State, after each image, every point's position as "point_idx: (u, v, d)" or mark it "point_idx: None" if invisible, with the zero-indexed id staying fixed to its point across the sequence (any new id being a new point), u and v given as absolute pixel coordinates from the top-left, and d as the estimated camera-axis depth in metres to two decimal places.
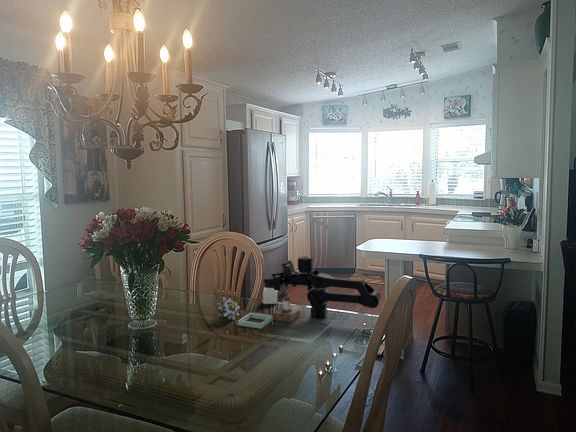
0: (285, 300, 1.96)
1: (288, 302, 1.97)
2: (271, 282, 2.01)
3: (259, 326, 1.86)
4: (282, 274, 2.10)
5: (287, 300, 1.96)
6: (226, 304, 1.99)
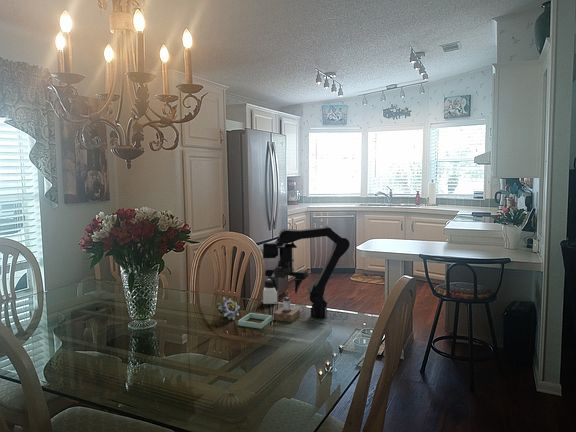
0: (285, 300, 1.96)
1: (288, 302, 1.97)
2: (298, 283, 1.95)
3: (259, 326, 1.86)
4: (275, 279, 1.98)
5: (287, 300, 1.96)
6: (226, 304, 1.99)
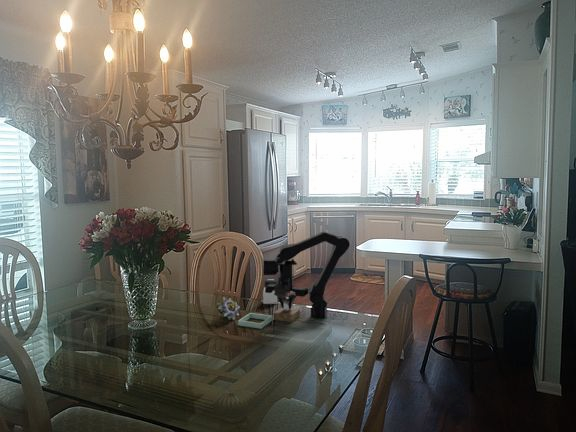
0: (285, 300, 1.96)
1: (288, 302, 1.97)
2: (292, 299, 1.97)
3: (259, 326, 1.86)
4: (281, 296, 1.98)
5: (287, 300, 1.96)
6: (226, 304, 1.99)
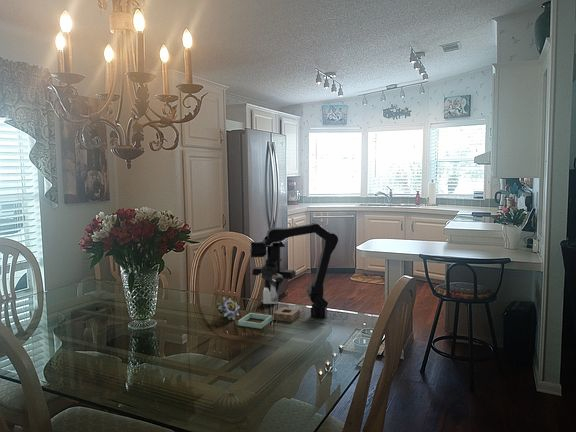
0: (272, 283, 1.93)
1: (275, 285, 1.94)
2: (280, 282, 1.94)
3: (259, 326, 1.86)
4: (269, 279, 1.95)
5: (274, 283, 1.93)
6: (226, 304, 1.99)
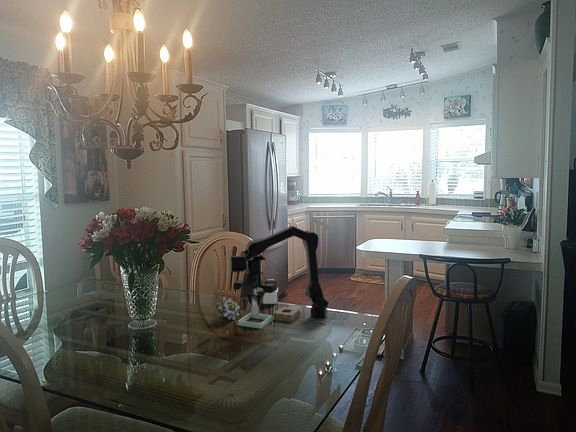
0: (253, 297, 1.90)
1: (256, 299, 1.90)
2: (261, 296, 1.91)
3: (259, 326, 1.86)
4: (250, 293, 1.92)
5: (255, 297, 1.90)
6: (226, 304, 1.99)
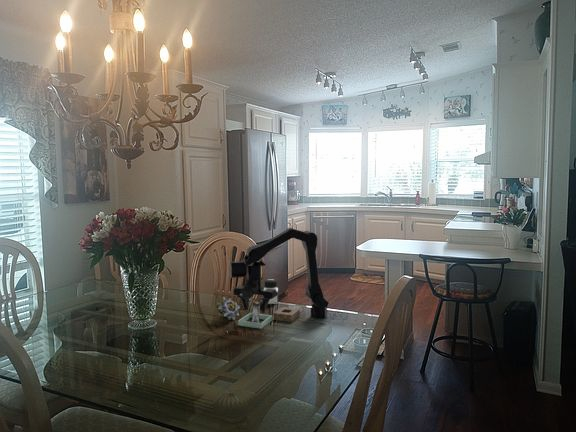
0: (254, 305, 1.90)
1: (257, 307, 1.91)
2: (266, 302, 1.90)
3: (259, 326, 1.86)
4: (245, 298, 1.93)
5: (256, 305, 1.90)
6: (226, 304, 1.99)
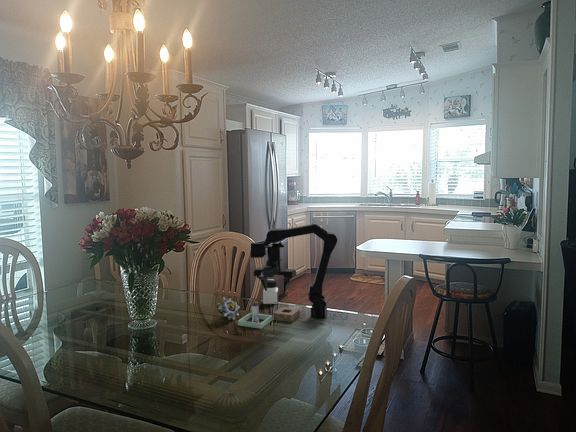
0: (253, 305, 1.90)
1: (256, 307, 1.91)
2: (287, 282, 1.97)
3: (259, 326, 1.86)
4: (264, 279, 2.00)
5: (255, 305, 1.90)
6: (226, 304, 1.99)
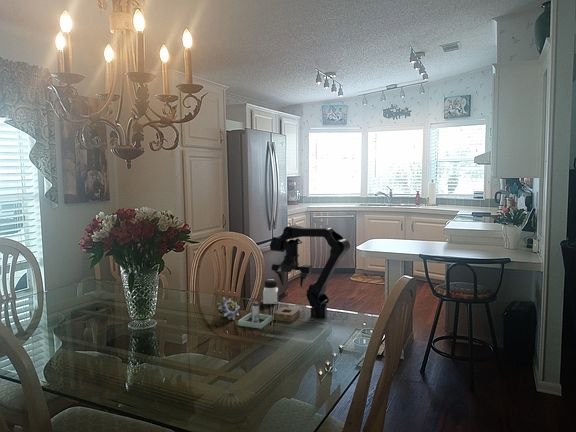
0: (254, 305, 1.90)
1: (257, 307, 1.91)
2: (303, 277, 2.04)
3: (259, 326, 1.86)
4: (281, 274, 2.07)
5: (256, 305, 1.90)
6: (226, 304, 1.99)
